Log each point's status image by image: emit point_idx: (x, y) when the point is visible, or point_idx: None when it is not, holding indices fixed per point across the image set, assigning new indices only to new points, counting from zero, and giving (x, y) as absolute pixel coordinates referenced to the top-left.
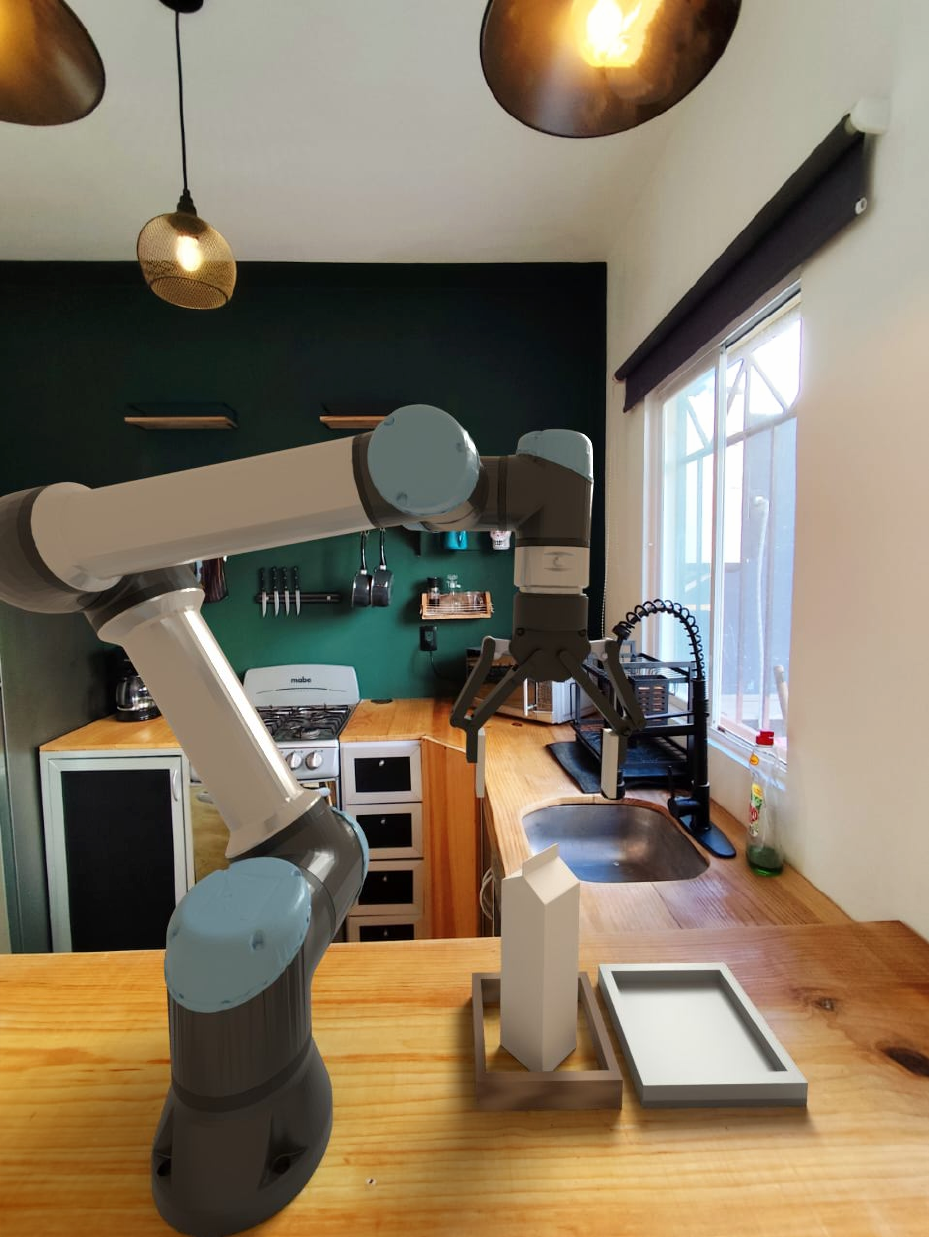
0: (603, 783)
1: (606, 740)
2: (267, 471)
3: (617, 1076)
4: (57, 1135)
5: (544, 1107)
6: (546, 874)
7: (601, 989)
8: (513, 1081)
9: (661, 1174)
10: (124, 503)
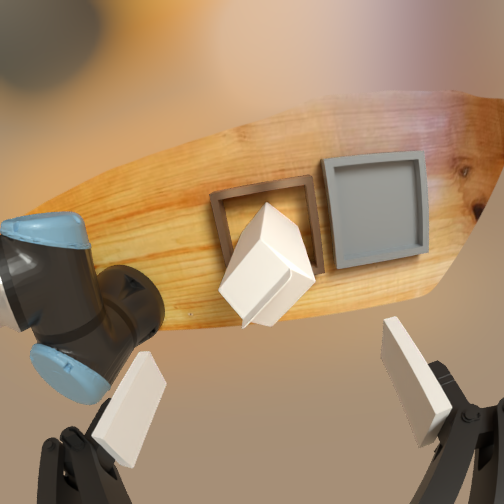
0: (387, 339)
1: (420, 414)
2: None
3: (321, 271)
4: None
5: None
6: (273, 301)
7: (322, 169)
8: None
9: (334, 294)
10: None
